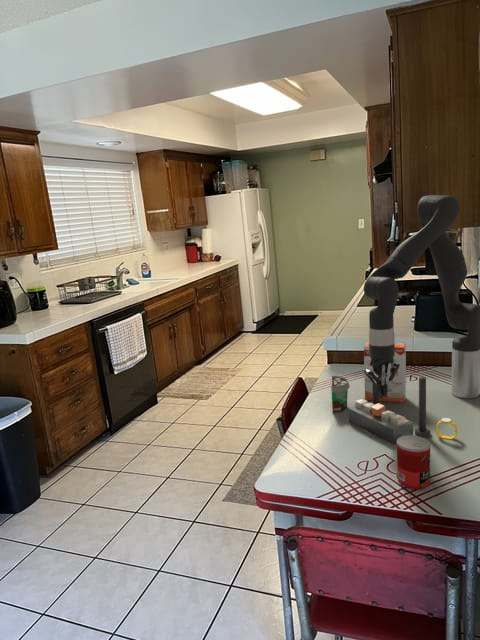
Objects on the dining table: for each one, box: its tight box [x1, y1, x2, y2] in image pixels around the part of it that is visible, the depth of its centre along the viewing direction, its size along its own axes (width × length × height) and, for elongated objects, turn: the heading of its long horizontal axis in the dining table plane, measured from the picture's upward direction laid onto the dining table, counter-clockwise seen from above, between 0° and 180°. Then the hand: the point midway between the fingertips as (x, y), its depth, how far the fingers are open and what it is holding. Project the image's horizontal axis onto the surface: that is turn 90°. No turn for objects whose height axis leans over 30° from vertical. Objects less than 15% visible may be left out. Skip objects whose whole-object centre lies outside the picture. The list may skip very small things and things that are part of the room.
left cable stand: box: [372, 383, 380, 405], centre depth 162 cm, size 4×4×18 cm
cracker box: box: [363, 341, 407, 404], centre depth 173 cm, size 14×6×21 cm, turn 68°
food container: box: [330, 375, 351, 414], centre depth 170 cm, size 12×6×10 cm, turn 168°
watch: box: [434, 417, 459, 440], centre depth 142 cm, size 6×3×6 cm, turn 59°
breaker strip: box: [347, 398, 414, 446], centre depth 151 cm, size 8×20×7 cm, turn 28°
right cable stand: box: [414, 376, 431, 438], centre depth 145 cm, size 4×4×18 cm
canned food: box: [396, 435, 431, 491], centre depth 121 cm, size 8×8×11 cm
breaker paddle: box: [371, 402, 386, 417], centre depth 150 cm, size 3×3×2 cm
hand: (382, 395), depth 150 cm, fingers closed
